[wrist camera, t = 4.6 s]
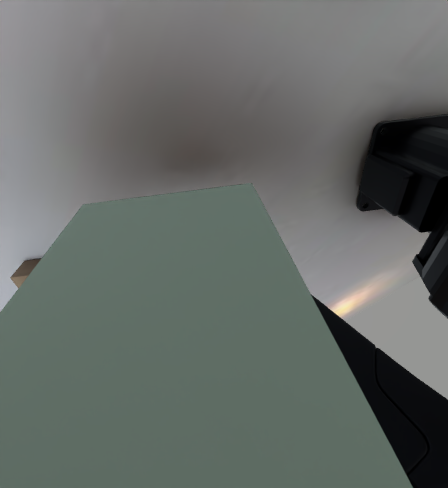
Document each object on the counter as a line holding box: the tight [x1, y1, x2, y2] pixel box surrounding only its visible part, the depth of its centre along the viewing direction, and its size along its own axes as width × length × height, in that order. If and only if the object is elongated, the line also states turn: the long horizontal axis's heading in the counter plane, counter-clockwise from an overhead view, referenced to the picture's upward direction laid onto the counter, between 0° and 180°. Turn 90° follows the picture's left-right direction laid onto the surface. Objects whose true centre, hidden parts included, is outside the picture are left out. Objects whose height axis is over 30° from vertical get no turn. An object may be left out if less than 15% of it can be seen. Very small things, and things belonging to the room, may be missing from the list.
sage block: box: [0, 183, 413, 488], centre depth 6 cm, size 5×5×7 cm
